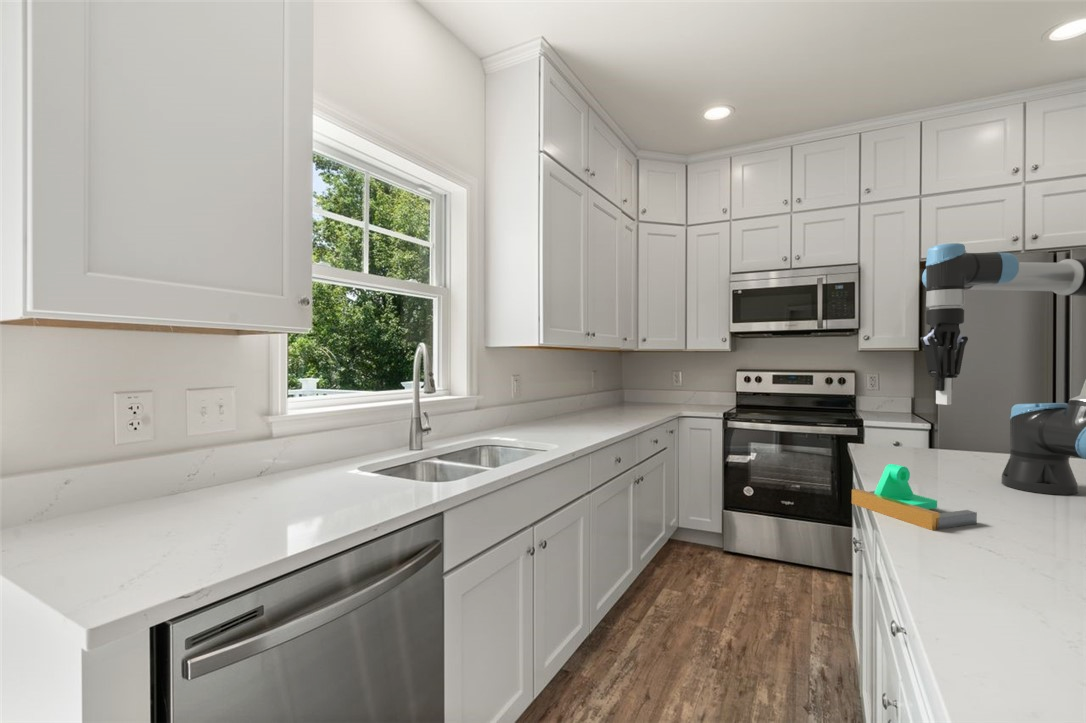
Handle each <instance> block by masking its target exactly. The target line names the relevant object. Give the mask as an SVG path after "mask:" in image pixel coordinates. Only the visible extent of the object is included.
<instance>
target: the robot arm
mask: <svg viewBox="0 0 1086 723" xmlns="http://www.w3.org/2000/svg"><path fill="white" fill-rule="evenodd" d="M921 281H922V283H923V284H922V285H923V286H925V289H926V291H925V292H926V299H925V301H926V302H925V307H926V308H928V309H927V310H926V311H925V324H926V325H928V326H929V329H928V334H927V335H926V336H921V337H919V338H920V342H921V344H922V347H923V350H924V356H925V364H926V369H927V374H928V375H929V376H930V377H931V378H934V379H935V380H934V382H935V383H934V384H935V386H934V388H935V404H936V405H946V406H948V405H949V406H950V405H952V390H953V379H954V378H955V379H956V378H958V377H959V375H960V374H961V373H960V372H961V369H962V365H963V364H962V363H963V358H964V352H965V349H966V348H965V347H966V344H967V342H968V340H969V338H968V336H967V335H962V334H961V328H960V325H962V324H964V322H965V309H964V308H962V307H963V306H966V304H965V303H966V302H965V301H966V299H965V298H966V296H965V295H966V294H965V293H966V291H965V290H967V291H968V290H971V291H972V290H973V291H974V290H975V291H977V290H978V291H981V290H982V291H1018V292H1019V291H1021V292H1022V291H1025V292H1026V291H1027V292H1029V291H1030V292H1053V293H1054V294H1056V295H1059V296H1073V297H1075V296H1076V297H1077V296H1078V297H1086V257H1083V258H1065V259H1062V260H1060V261H1059V262H1041V261H1040V262H1035V261H1033V262H1032V261H1031V262H1028V261H1027V262H1026V261H1023V262H1022V261H1019V259H1018V257H1017V256H1016V255H1014V254H1013V253H1010V252H1001V251H997V252H967V250H966V246H965V244H963V243H959V242H955V243H954V242H953V243H944V244H943V243H942V244H941V243H940V244H936V245H933V246H931V247H929V248H928V249H927V252H926V261H925V269H924V271H923V272H922V276H921ZM1010 412H1011V413H1010V417H1009V422H1010V423H1009V426H1010V427H1009V434H1010V435H1009V437H1010V438H1009V439H1010V440H1009V441H1010V446H1009V448H1010V452H1009V458H1008V460H1007V462H1006V464H1005V467H1004V470H1003V471H1002V474H1001V484H1002V485H1003V486H1005V487H1009V488H1013V489H1016V490H1020V491H1025V492H1026V491H1027V492H1031V493H1039V494H1046V495H1047V494H1048V495H1049V494H1050V495H1061V496H1062V495H1065V496H1066V495H1067V496H1068V495H1076V494H1078V490H1079V488H1078V482H1077V480H1076V478H1075V474H1074V472H1073V470H1072V467H1071V464H1070V463H1069V462H1070V461H1069V460H1070V457H1073V458H1080V459H1083V460H1086V379H1085V381H1084V382H1083V386H1082V388H1081V391H1080V394H1079V395H1077V396H1074V397H1072V398H1070V399H1069V400H1068V402H1067V403H1066V402H1049V403H1048V402H1046V403H1045V402H1044V403H1043V402H1042V403H1041V402H1040V403H1038V402H1037V403H1017V404H1014V405H1013V406H1012V407H1011V411H1010Z"/></svg>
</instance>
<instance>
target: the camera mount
mask: <svg viewBox="0 0 1086 723" xmlns="http://www.w3.org/2000/svg"><path fill="white" fill-rule="evenodd" d="M910 474H911V473H910V470H909V468H908V467H906V466H903V465H899V464H898V465H897V464H894V463H888V464H887V465H886V466H885V467H884V470H883V472H882V474H881V477H880V478H879V480H878V483H877V485H876V488H875V490H874V491H875V492H874V494H877V495H881V496H884V497H887V498H891V499H894V500H898V501H901V502H904V503H908V504H911V505H914V506H918V507H921V508H925V509H928V510H932V509H937V508H938V500H937V499H933V498H930V497H926V496H921V495H919V494H914V493H913V492H914V491H913V490H912V488H911V486H910V484H909V480H910V478H911V477H910V476H911V475H910Z"/></svg>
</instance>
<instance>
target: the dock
mask: <svg viewBox="0 0 1086 723" xmlns="http://www.w3.org/2000/svg"><path fill="white" fill-rule="evenodd" d="M874 492H875V490H873V491H872V490H871V491H866V490H864V489H859V488H853V489H851V504H852V505H855V506H858V507H860V508H862V509H863V508H864V509H867V510H870V511H871V512H872V511H873V512H875V513H879V514H882V515H885V516H888V517H890V518H895V519H897V520H900V521H903V522H906V523H909V524H912V525H914V526H915V525H916V526H918V527H921V528H925V529H927V530H931V531H936V530H943V529H951V528H958V527H965V526H971V525H972V526H973V525H977V520H978V514H977V513H978V512H976V511H972V510H969V509H964V510H963V509H962V510H955V511H947V512H941V513H940V512H938V511H934V510H932V509H925V508H921V507H918V506H914V505H911V504H908V503H904V502H901V501H898V500H894V499H891V498H887V497H884V496H881V495H877V494H874Z"/></svg>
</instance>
